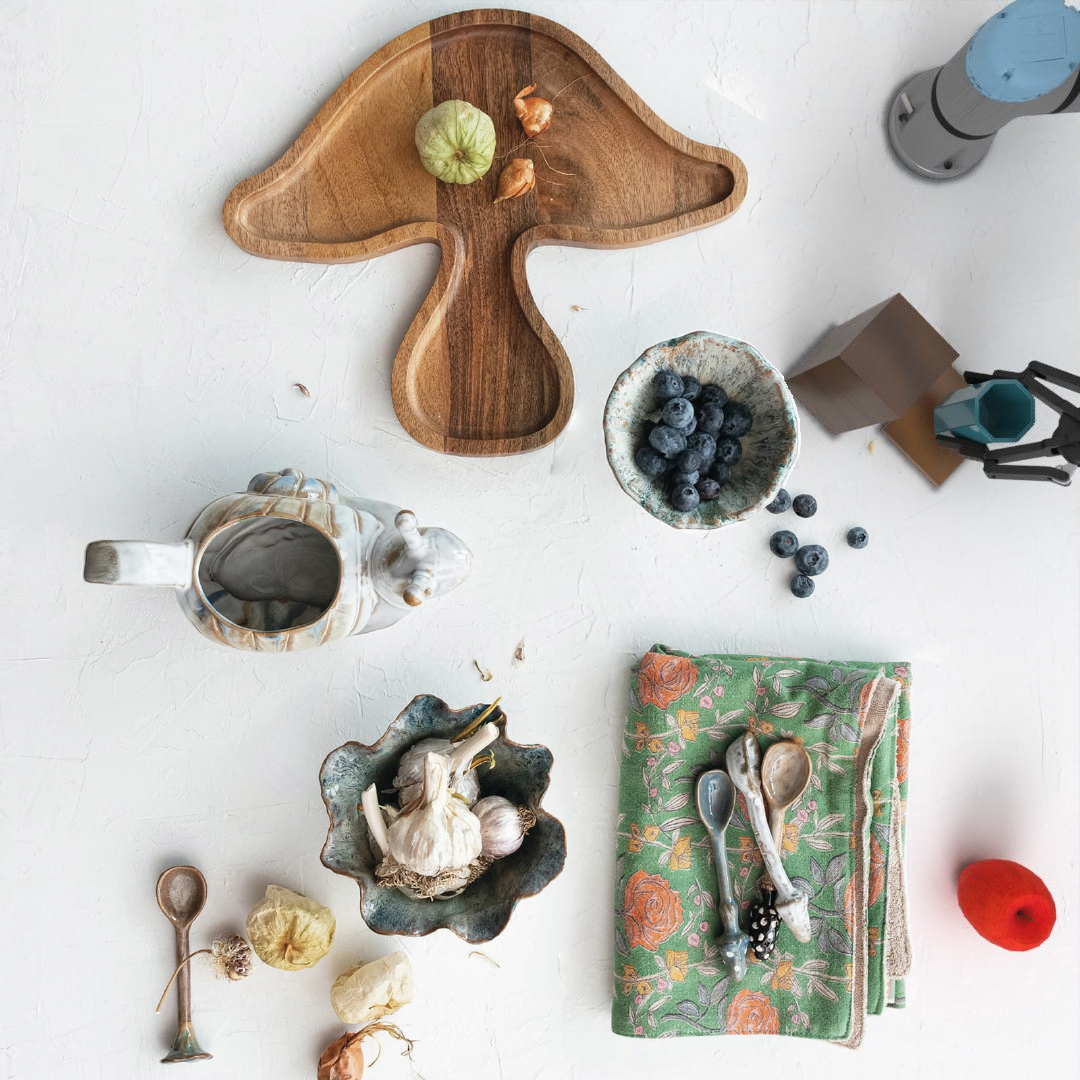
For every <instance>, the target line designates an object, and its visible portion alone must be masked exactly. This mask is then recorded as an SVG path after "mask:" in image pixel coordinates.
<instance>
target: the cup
mask: <svg viewBox="0 0 1080 1080" xmlns="http://www.w3.org/2000/svg"><path fill="white" fill-rule="evenodd" d="M1035 424H1036V398H1035V396H1033V395H1032V394H1031V393H1030V392H1029V391H1028V390H1027V389H1026V388H1025V387H1024V386H1023V385H1022V384H1021V383H1020V382H1019V381H1018V380H1016V379H993V380H990V381H986V382H983V383H980V384H976V385H971V386H969V387H966V388H963V389H959V390H956V391H952V392H950V393H949V394H948V395H947V396H946V397H945V398H944V399H943V400H942V401H941V402H940V403H939V404H938V405H937V406H936V407H935V410H934V432H936V433H935V434H936V435H937V434H941V435H946V436H950V437H955V438H960V439H964V440H969V441H974V442H978V443H983V444H987V446H988V448H991V447H998V446H1003V445H1010V444H1016V443H1019V442H1020V441H1021V440H1022V438H1023V437H1024V436H1026V434H1027V433H1028V432H1029V431H1030V430H1031V429H1032V428H1033V427H1034V426H1035ZM949 449H951V450H956V449H952V448H949Z"/></svg>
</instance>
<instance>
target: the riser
mask: <svg viewBox="0 0 1080 1080" xmlns="http://www.w3.org/2000/svg"><path fill="white" fill-rule="evenodd" d="M960 356H961V355H960V353H959V352H958V351H957V350H956V349H955V348H954V347H953V346H952V345H951V344H950V343H949V342H948V341H947V340H946V339H945V338H944V337H943V336H942V334H940V332H938V331H937V330H936V329H935V327H934V326H933V325H931V324H930V322H929V321H928V320H927V319H926V318H925V317H924V316H923V315H922V314H921V313H920V312H919V311H918V310H917V309H916V308H915V307H914V305H912V304H911V303H910V302H909V301H908V299H907V298H906V297H905V296H904V295H903V294H902V293H900V292H897V293H895V294H894V295H892V296H890V297H888V298H886V299H885V300H883V301H881V302H879V303H877V304H875V305H874V306H872V307H870V308H868V309H867V310H864V311H862V312H861V313H859V314H857V315H856V316H854V317H853V318H850V319H848V320H847V321H845V322H843V323H841V324H840V325H837V326H836V327H834V328H833V329H831V330H830V332H828V333H827V334H826V335H825V336H824V337H823V339H821V340H820V342H819V343H818V344H816V346H815V347H814V348H813V349H812V350H811V351H810V352H809V353H808V354H807V355H806V356H805V357H804V358H803V359H802V360H801V362H799V363H798V364H797V366H795V368H794V369H793V370H792V371H791V372H790V373H788V375H787V376H786V377H784V379H783V380H784V381H785V382H786V384H787V386H788V389H789V390H790V391H789V390H788V389H787V390H788V391H789V392H790V394H791V395H793V397H795V398H796V399H797V401H798V402H800V403H801V405H802V406H803V407H805V408H806V409H807V410H808V411H809V412H810V414H812V415H813V417H814V418H816V419H817V420H818V422H820V424H821V425H822V426H823V427H824V428H825V429H826V430H827V431H829V433H830V434H831V435H832V436H835V435H841V434H844V433H847V432H851V431H856V430H860V429H865V428H868V427H871V426H875V425H879V424H883V423H887V422H888V421H891V420H895V419H899V418H901V417H902V416H903V415H904V414H905V413H906V412H907V411H908V410H909V408H910V407H911V406H912V405H913V404H914V403H915V402H916V401H917V400H918V399H919V398H920V397H921V396H922V395H923V394H924V393H925V392H926V391H927V390H928V388H929V387H930V386H931V385H932V384H933V383H934V382H935V381H936V380H937V379H938V378H939V377H940V376H941V375H942V374H943V373H944V372H945V371H946V370H947V368H948V367H949V366H950V365H951V366H952V365H953V363H954V362H956V361H957V359H959V357H960Z"/></svg>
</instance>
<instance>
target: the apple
mask: <svg viewBox="0 0 1080 1080" xmlns="http://www.w3.org/2000/svg"><path fill="white" fill-rule="evenodd" d="M956 894H957V903H958V907H959V908H960V911H961V913H962V915H963V917H964V918H965V919H966V921H967V922H968V923H969V924H970V925H971V926H972V928H973V930H975V932H977V934H978V935H979V936H980V937H982V938H983V939H985V940H986V941H987V942H988V943H990V944H992V945H995V946H997V947H999V948H1002V949H1003V950H1006V951H1008V952H1020V953H1024V952H1028V951H1031V950H1033V949H1037V948H1039V947H1040V946H1041V945H1042V944H1043V943H1045V942H1046V941H1047V940H1048V939H1049V938H1050V937H1051V934H1052V932H1053V929H1054V927H1055V925H1056V922H1057V908H1056V902H1055V900H1054V898H1053V895H1052V893H1051V891H1050V890H1049V888H1048V886H1047V885H1046V884H1045V882H1044V881H1043V879H1042V878H1041V877H1040V876H1039V875H1038V874H1036V873H1035V872H1033V871H1032V870H1031V869H1030V868H1027V866H1024V865H1023V864H1020V863H1018V862H1017V861H1013V860H1009V859H1000V858H987V859H982V860H979V861H976V862H973V863H971V864H969V865H967V866H966V867H965V868H964V869H963V870H962V871H961V872H960V875H959V878H958V881H957V889H956Z"/></svg>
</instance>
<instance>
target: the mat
mask: <svg viewBox="0 0 1080 1080" xmlns="http://www.w3.org/2000/svg"><path fill="white" fill-rule="evenodd" d="M969 386H972V385H971V384H967V383H966V381H965V379H964V377H963V375H961V374H960V373H959V372H958V371H957V370H956V369H955V368H954V367H953V366H952V364H951V365H950V366H949V367H948V368H947V370H946V371H945V372H944V373H943V374H942V375H941V376H940V377H939V378H938V379H937V380H936V381H935V382H934V383H933V384H932V385H931V386H930V387H929V388H928V390H927V391H926V392H925V393H924V394H923V395H922V396H921V397H920V398H919V399H918V400H917V401H916V402H915V403H914V404H913V405H912V406H911V407H910V408H909V410H908V411H907V412H906V413H905V414H904V415H903V416H902V417H901V418H899V419H895V420H891V421H887V422H886V423H885V424H884V425H883V427H882V428H881V429H880V430H879V431H880V432H881V433H882V434H883V435H884V436H885V437H886V438H887V439H888V440H889V441H890V442H891V443H892V444H893V445H894V446H895V447H896V448H897V449H898V450H899V451H900V453H902V454H903V455H904V456H905V458H907V459H908V460H909V461H910V463H912V465H914V467H916V468H917V470H919V472H920V473H921V474H922V475H923V476H924V477H925V478H926V479H927V480H928V481H929V482H930V483H931V484H932V485H933V486H934V487H936V488H938V487H941V485H943V484H944V482H945V481H946V480H947V479H948V478H949V477H950V476H951V475H952V474H953V473H954V472H955V471H956V470H957V469H958V467H960V465H961V464H962V463H964V461H965V460H966V459H965V458H963V457H961V456H960V454H959V450H951V449H949V448H947V447H943V446H940V445H939V444H938V442H937V441H936V439H935V438H936V436H937V435H936V434H935V433H936V432H934V410H935V407H936V406H937V405H938V404H939V403H940V402H941V401H942V400H943V399H944V398H945V397H946V396H947V395H948V394H949V393H950V392H952V391H956V390H959V389H963V388H966V387H969Z"/></svg>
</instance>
